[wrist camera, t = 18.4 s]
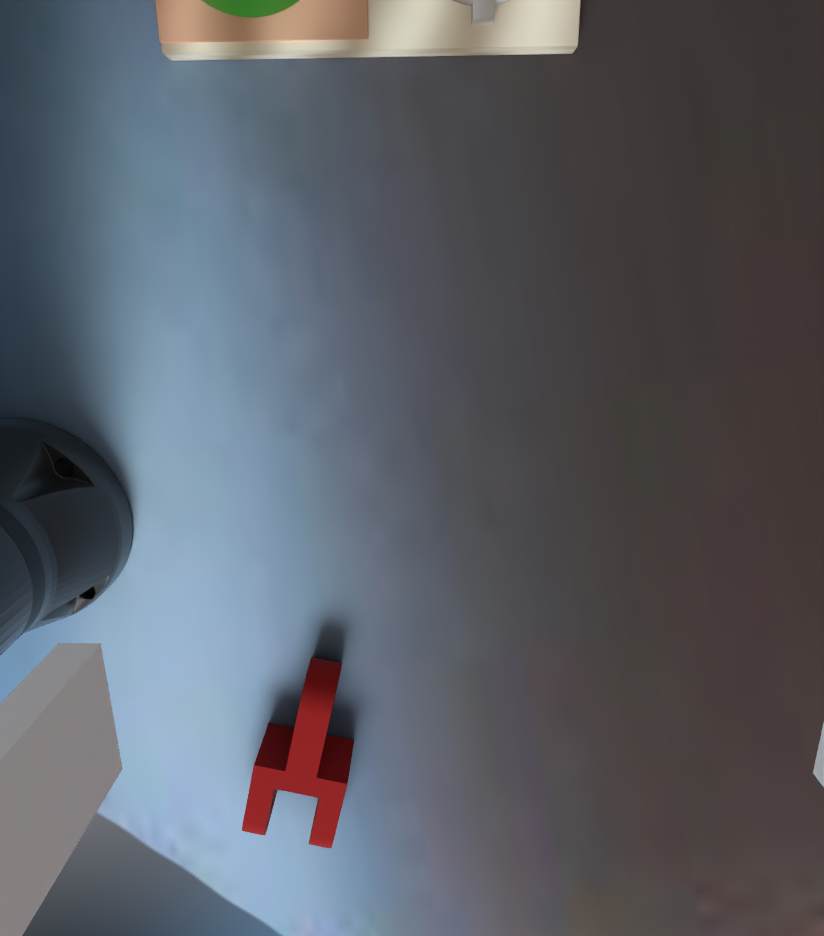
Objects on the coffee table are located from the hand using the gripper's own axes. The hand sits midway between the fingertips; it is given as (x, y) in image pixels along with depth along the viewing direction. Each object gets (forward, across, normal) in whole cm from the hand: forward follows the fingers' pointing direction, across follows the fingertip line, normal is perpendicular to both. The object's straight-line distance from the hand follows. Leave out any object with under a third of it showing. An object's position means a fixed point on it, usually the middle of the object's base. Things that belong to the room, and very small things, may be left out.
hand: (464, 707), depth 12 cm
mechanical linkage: (+35, -10, -29) cm, 47 cm away
